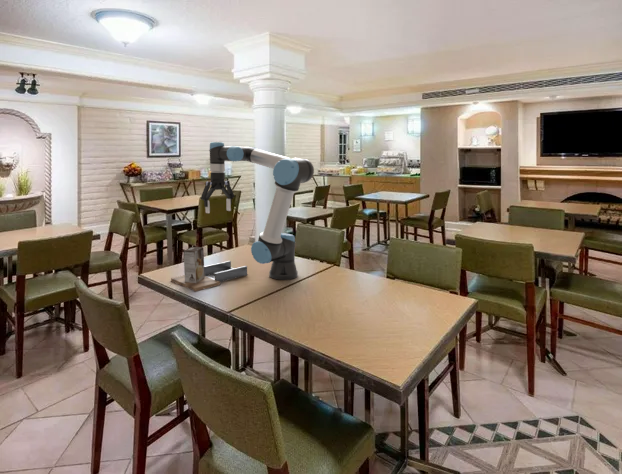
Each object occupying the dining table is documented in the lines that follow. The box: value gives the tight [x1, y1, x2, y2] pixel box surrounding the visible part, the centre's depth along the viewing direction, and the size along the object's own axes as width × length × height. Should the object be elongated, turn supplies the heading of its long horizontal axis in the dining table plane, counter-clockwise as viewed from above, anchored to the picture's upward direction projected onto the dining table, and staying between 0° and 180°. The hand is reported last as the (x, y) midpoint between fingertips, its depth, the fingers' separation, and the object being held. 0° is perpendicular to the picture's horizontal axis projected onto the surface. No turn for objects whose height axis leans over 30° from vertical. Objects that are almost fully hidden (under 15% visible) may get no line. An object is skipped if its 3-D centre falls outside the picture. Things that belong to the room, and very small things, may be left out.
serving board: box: [170, 274, 221, 292], centre depth 206 cm, size 22×14×2 cm, turn 49°
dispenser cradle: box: [204, 260, 248, 283], centre depth 219 cm, size 15×20×5 cm
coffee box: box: [182, 246, 205, 283], centre depth 204 cm, size 9×6×16 cm
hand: (218, 211), depth 223 cm, fingers open, 13 cm apart
